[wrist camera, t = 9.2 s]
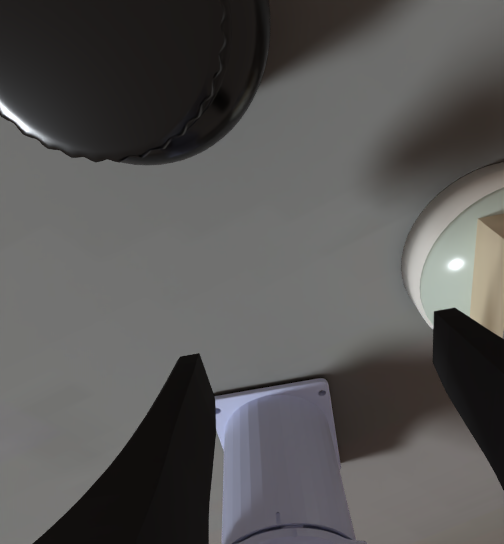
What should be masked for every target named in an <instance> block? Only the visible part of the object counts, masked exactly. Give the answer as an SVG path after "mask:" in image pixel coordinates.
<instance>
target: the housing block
mask: <svg viewBox="0 0 504 544" xmlns="http://www.w3.org/2000/svg"><path fill="white" fill-rule="evenodd" d="M470 318H472V319H473V320H475V321H476V322H478V323H479V324H481V325H482V326H484V327H485V328H487V329H489V330H490V331H492V332H493V333H495V334H496V335H498V336H500V337H501V338H503V339H504V214H499V215H494V216H488V217H483V218H478V221H477V233H476V246H475V258H474V270H473V282H472V294H471V306H470Z"/></svg>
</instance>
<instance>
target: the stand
mask: <svg viewBox="0 0 504 544" xmlns="http://www.w3.org/2000/svg"><path fill="white" fill-rule="evenodd" d="M499 214H504V162H501V163H497V164H493V165H489V166H486V167H484V168H481V169H478V170H476V171H473V172H471V173H469V174H468V175H466V176H464V177H462V178H460V179H458V180H457V181H455V182H454V183H452V184H451V185H449V186H448V187H447V188H445V189H444V190H443V191H442V192H441V193H439V194H438V195H437V196H436V197H435V198H434V199H433V200H432V201H431V202H430V203H429V204H428V205H427V206H426V208H425V209H424V210H423V211H422V212H421V214H420V215H419V217H418V218H417V220H416V221H415V223H414V224H413V226H412V228H411V230H410V232H409V234H408V236H407V239H406V242H405V245H404V248H403V254H402V261H401V271H402V279H403V283H404V286H405V289H406V291H407V293H408V295H409V296H410V298H411V299H412V301H413V303H414V304H415V306H416V307H417V309H418V310H419V312H420V313H421V315H422V316H423V318H424V319H425V321H426V322H427V324H428V325H429V326H430V327H431V328H432V329H433V327H434V311H438V310H444V309H449V308H456V309H458V310H459V311H461V312H463V313H464V314H466V315H467V316H469V317H470V306H471V294H472V282H473V270H474V258H475V246H476V233H477V221H478V218H483V217H488V216H494V215H499Z"/></svg>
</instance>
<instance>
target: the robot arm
mask: <svg viewBox="0 0 504 544" xmlns="http://www.w3.org/2000/svg"><path fill="white" fill-rule="evenodd" d="M433 364H434V366H435V368H436V371H437V373H438V375H439V378H440V380H441V382H442V384H443V386H444V388H445V391H446V393H447V394H448V396H449V398H450V399H451V401H452V403H453V404H454V406H455V408H456V409H457V411H458V412H459V414H460V416H461V417H462V419H463V421H464V422H465V424H466V425H467V427H468V429H469V430H470V432H471V434H472V435H473V437H474V438H475V440H476V442H477V443H478V445H479V447H480V448H481V450H482V451H483V453H484V455H485V456H486V458H487V460H488V461H489V463H490V465H491V467H492V468H493V470H494V472H495V474H496V476H497V478H498V480H499V482H500V484H501V486H502V488H503V490H504V339H503V338H501V337H500V336H498V335H496V334H495V333H493V332H492V331H490V330H489V329H487V328H485V327H484V326H482V325H481V324H479V323H478V322H476V321H475V320H473V319H472V318H470V317H469V316H467V315H466V314H464V313H463V312H461V311H459V310H458V309H456V308H449V309H444V310H438V311H434V327H433ZM321 390H324V391H322V392H319V391H321ZM216 408H219V409H216ZM216 430H217V433H218V436H219V439H220V441H221V444H222V447H223V450H224V475H223V513H222V544H367V543H366V542H365V541H356V538H355V534H354V529H353V525H352V521H351V517H350V512H349V508H348V504H347V500H346V496H345V491H344V487H343V483H342V479H341V474H340V469H341V464H340V458H339V451H338V444H337V438H336V431H335V424H334V418H333V411H332V405H331V398H330V391H329V385H328V382H327V380H326V379H323V378H318V379H312V380H306V381H301V382H295V383H289V384H283V385H277V386H271V387H266V388H260V389H254V390H248V391H242V392H237V393H231V394H225V395H219V396H214V394H213V391H212V388H211V386H210V383H209V380H208V377H207V374H206V371H205V368H204V365H203V363H202V360H201V357H200V354H199V353H198V354H193V355H187V356H182V357H180V358H179V359H178V361H177V363H176V365H175V366H174V368H173V370H172V372H171V374H170V376H169V377H168V379H167V381H166V383H165V385H164V386H163V388H162V390H161V392H160V393H159V395H158V397H157V398H156V400H155V402H154V403H153V405H152V407H151V408H150V410H149V412H148V413H147V415H146V416H145V418H144V419H143V421H142V422H141V424H140V425H139V427H138V428H137V430H136V431H135V433H134V434H133V436H132V437H131V439H130V440H129V441H128V443H127V444H126V445H125V447H124V448H123V450H122V451H121V452H120V453H119V455H118V456H117V457H116V459H115V460H114V461H113V462H112V464H111V465H110V466H109V467H108V469H107V470H106V471H105V472H104V473H103V474H102V475H101V477H100V478H99V479H98V480H97V481H96V482H95V483H94V484H93V485H92V487H91V488H90V489H89V490H88V491H87V492H86V493H85V494H84V495H83V497H82V498H81V499H80V500H79V501H78V502H77V503H76V504H75V505H74V506H73V507H72V508H71V509H70V510H69V511H68V512H67V513H66V514H65V515H64V516H63V517H61V518H60V519H59V520H58V521H57V522H56V523H55V524H54V525H53V526H52V527H51V528H50V529H49V530H48V531H47V532H45V533H44V534H43V535H42V536H41V537H40V538H39V539H38V540H36V541H35V542H34V543H33V544H209V501H210V490H211V480H212V470H213V459H214V449H215V437H216Z"/></svg>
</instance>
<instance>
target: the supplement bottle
mask: <svg viewBox="0 0 504 544" xmlns="http://www.w3.org/2000/svg"><path fill="white" fill-rule="evenodd" d="M269 42H270V9H269V0H0V115H1V117H3V118H4V119H6V120H8V121H11V122H13V123H14V124H15V125H16V126H17V128H18V129H19V130H20V131H21V133H22V134H23V135H25V136H28V137H31V138H35V139H37V140H39V141H40V142H41V144H42V145H44V146H45V147H46V148H48V149H53V150H61V151H62V152H63V153H65V154H66V155H68V156H70V157H71V158H78V157H85V158H88V159H89V160H91V161H94V162H100V161H103V160H106V159H109V160H112V161H115V162H122V163H127V164H134V165H161V164H167V163H173V162H177V161H181V160H184V159H187V158H190V157H192V156H195V155H197V154H199V153H201V152H203V151H205V150H206V149H208V148H209V147H211V146H213V145H214V144H215V143H217V142H218V141H219V140H221V139H222V138H223V137H224V136H225V135H226V134H227V133H228V132H230V131H231V130H232V128H233V127H234V126H235V125H236V124H237V123H238V122H239V120H240V119H241V118H242V116H243V115H244V113H245V112H246V111H247V109H248V107H249V105H250V104H251V102H252V100H253V98H254V96H255V94H256V92H257V90H258V87H259V85H260V82H261V79H262V76H263V73H264V69H265V65H266V61H267V56H268V50H269Z"/></svg>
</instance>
